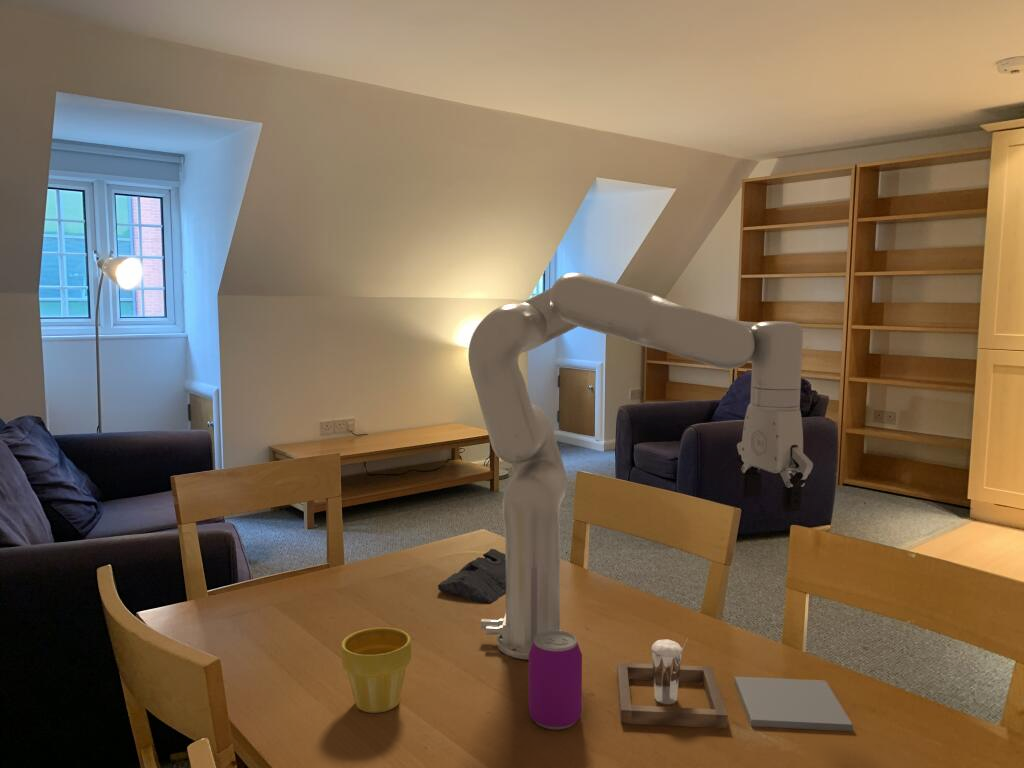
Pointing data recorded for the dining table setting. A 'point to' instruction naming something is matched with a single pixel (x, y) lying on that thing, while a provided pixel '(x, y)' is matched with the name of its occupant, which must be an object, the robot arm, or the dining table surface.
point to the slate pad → (791, 704)
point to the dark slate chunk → (479, 579)
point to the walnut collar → (671, 715)
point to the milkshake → (666, 670)
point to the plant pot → (376, 666)
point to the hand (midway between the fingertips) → (770, 503)
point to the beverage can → (555, 680)
